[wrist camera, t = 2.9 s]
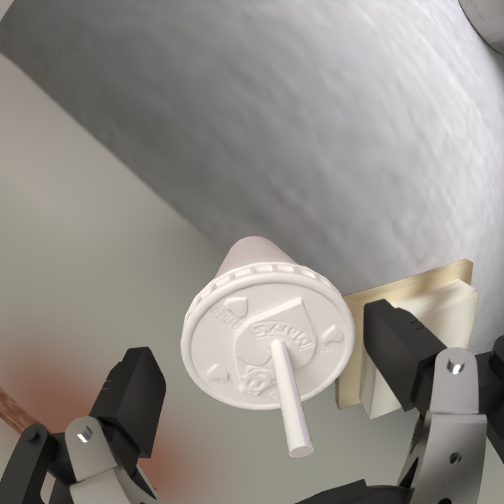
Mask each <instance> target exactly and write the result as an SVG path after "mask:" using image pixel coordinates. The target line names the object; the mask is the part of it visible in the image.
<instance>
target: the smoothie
mask: <svg viewBox="0 0 504 504" xmlns="http://www.w3.org/2000/svg"><path fill="white" fill-rule="evenodd" d="M354 343H355V325H354V320H353V317H352V314H351V312H350V310H349V308H348V306H347V305H346V303H345V302H344V300H343V298H342V296H341V294H340V292H339V291H338V290H337V289H336V288H335V287H334V286H333V285H332V284H331V283H330V282H329V281H328V279H327V278H326V277H324V276H322V275H320V274H318V273H316V272H315V271H313V270H311V269H309V268H307V267H305V266H300V265H298V264H297V263H296V262H294V261H293V260H292V259H291V258H290V257H289V256H288V255H286V254H285V253H284V252H283V251H282V250H281V249H279V248H278V247H277V246H276V245H275V244H274V243H273V242H271V241H270V240H268V239H266V238H263V237H259V236H250V237H246V238H243V239H241V240H239V241H238V242H236V243H235V244H234V245H233V246H232V248H231V249H230V251H229V252H228V254H227V256H226V258H225V260H224V262H223V263H222V265H221V267H220V269H219V271H218V273H217V275H216V277H215V278H214V280H212V281H211V282H210V283H209V284H208V285H207V286H206V287H205V288H204V289H203V290H202V291H201V292H200V293H199V294H198V295H197V296H196V297H195V298H194V300H193V302H192V304H191V306H190V308H189V310H188V312H187V314H186V315H185V321H184V327H183V333H182V339H181V353H182V359H183V363H184V365H185V368H186V370H187V372H188V374H189V375H190V377H191V378H192V379H193V381H194V382H195V383H196V384H197V385H198V386H199V387H200V388H201V389H202V390H203V391H204V392H206V393H207V394H208V395H210V396H211V397H213V398H215V399H217V400H219V401H221V402H223V403H225V404H228V405H231V406H235V407H238V408H243V409H251V410H272V409H279V408H281V411H282V417H283V422H284V428H285V433H286V438H287V444H288V449H289V454H290V456H292V457H303V456H306V455H309V454H310V453H312V452H313V450H314V448H313V444H312V440H311V436H310V432H309V429H308V425H307V421H306V417H305V413H304V410H303V406H302V402H303V401H305V400H308V399H310V398H312V397H313V396H315V395H317V394H318V393H320V392H322V391H323V390H324V389H325V388H327V387H328V386H329V385H330V384H331V383H333V382H334V380H335V379H336V378H337V377H338V376H339V375H340V374H341V372H342V371H343V370H344V368H345V366H346V365H347V363H348V361H349V359H350V357H351V354H352V351H353V348H354Z"/></svg>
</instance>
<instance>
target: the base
mask: <svg viewBox="0 0 504 504" xmlns="http://www.w3.org/2000/svg"><path fill="white" fill-rule="evenodd" d="M472 269H473V262H471V261H469V260H467V259H462V260H459V261H457V262H454V263H451V264H448V265H445V266H442V267H439V268H436V269H433V270H430V271H427V272H424V273H421V274H418V275H415V276H412V277H409V278H405V279H402V280H399V281H396V282H392V283H389V284H385V285H382V286H379V287H375V288H372V289H368V290H364V291H361V292H357V293H353V294H350V295H346V296H342V298H343V300H344V302H345V303H346V305H347V306H348V308H349V310H350V312H351V314H352V317H353V320H354V325H355V343H354V348H353V351H352V354H351V357H350V359H349V361H348V363H347V365H346V366H345V368H344V370H343V371H342V372H341V374H340V375H339V376H338V377H337V378H336V403H337V406H338V409H339V410H340V409H343V408H347V407H349V406H353V405H356V404H359V403H362V405H363V407H364V409H365V411H366V413H367V416H368V418H369V420H371V419H373V418H376V417H379V416H381V415H384V414H386V413H389V412H391V411H394V410H396V409H399V408H401V407H402V406H401V405H400V403H399V401H398V400H397V398H396V397H395V395H394V393H393V392H392V390H391V389H390V387H389V386H388V384H387V382H386V381H385V379H384V378H383V376H382V375H381V373H380V372H379V370H378V369H377V367H376V366H375V364H374V363H373V361H372V360H371V358H370V357H369V355H368V353H367V352H366V349H365V346H364V342H363V321H364V305H365V304H366V303H370V302H373V301H376V300H380V299H386V300H387V301H388V302H389V303H390V304H391V305H392V306H393V307H394V308H398V307H400V308H402V309H404V310H407V311H409V312H411V313H412V314H413V315H414V316H415V317H416V318H417V319H418V321H420V322H422V323H423V324H424V325H425V327H427V328H428V329H429V330H430V331H431V332H432V333H433V334H434V335H435V336H436V337H437V338H438V339H439V340H440V341H441V342H442V343H443V344H445V345H446V346H447V347H448V348H452V347H459V348H463V349H467V346H468V342H469V339H470V335H471V331H472V327H473V323H474V319H475V315H476V310H477V305H478V300H479V295H480V292H479V291H477V290H476V289H474V288H473V287H471V286H470V285H471V277H472Z"/></svg>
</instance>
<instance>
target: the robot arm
mask: <svg viewBox="0 0 504 504" xmlns="http://www.w3.org/2000/svg"><path fill="white" fill-rule="evenodd" d="M459 2H460V4H461V6H462V8H463V10H464V12H465V14H466V15H467V17H468V18H469V20H470V22H471V23H472V25H473V26H474V27H475V29H476V30H477V31H478V33H479V34H480V35H481V36H482V38H483V39H484V40H485V41H486V42H487V43H488V44H489V45H490V46H491V47H492V48H493V49H494V50H496V51H497V52H499V53H501V54H504V0H459ZM363 342H364V346H365V349H366V352H367V353H368V355H369V357H370V358H371V360H372V361H373V363H374V364H375V366H376V367H377V369H378V370H379V372H380V373H381V375H382V376H383V378H384V379H385V381H386V382H387V384H388V386H389V387H390V389H391V390H392V392H393V393H394V395H395V397H396V398H397V400H398V401H399V403H400V405H401V406H402V408H403V409H404V411H405V412H406V411H409V410H411V409H413V408H415V407H416V408H417V409H418V411H419V414H418V417H417V421H416V426H415V430H414V434H413V438H412V442H411V445H410V449H409V452H408V456H407V459H406V462H405V465H404V467H403V469H402V471H401V474H400V476H399V479H398V481H397V484H396V486H392V485H376V486H367V485H366V483H365V480H364V479H362V480H359V481H356V482H353V483H350V484H347V485H343V486H340V487H337V488H333V489H330V490H326V491H322V492H320V493H318V494H316V495H314V496H312V497H310V498H307V499H305V500H303V501H300V502H298V503H295V504H477V501H478V496H479V491H480V486H481V480H482V474H483V467H484V459H485V449H486V436H487V437H488V439H489V440H490V442H491V444H492V445H493V447H494V448H495V450H496V452H497V453H498V455H499V457H500V458H501V460H502V462H503V464H504V335H503V336H500V337H499V338H497V340H496V341H495V343H494V346H493V349H492V351H490V352H486V353H483V354H479V355H473V354H472V353H471V352H470V351H468V350H466V349H463V348H459V347H452V348H448V347H447V346H446V345H445V344H443V343H442V342H441V341H440V340H439V339H438V338H437V337H436V336H435V335H434V334H433V333H432V332H431V331H430V330H429V329H428V328H427V327H425V325H424V324H423V323H422V322H420V321H418V319H417V318H416V317H415V316H414V315H413V314H412V313H411V312H409V311H407V310H404V309H402V308H400V307H398V308H394V307H393V306H392V305H391V304H390V303H389V302H388V301H387V300H386V299H380V300H376V301H373V302H370V303H366V304H365V305H364V321H363ZM165 393H166V383H165V379H164V376H163V374H162V372H161V370H160V368H159V366H158V364H157V362H156V360H155V358H154V356H153V354H152V352H151V350H150V349H149V348H148V347H138V348H129V349H128V350H127V352H126V354H125V356H124V358H123V360H122V362H119V363H118V364H117V365H116V366H115V367H114V368H113V369H112V370H111V371H110V373H109V375H108V377H107V379H106V382H105V383H104V385H103V387H102V390H101V391H100V393H99V395H98V397H97V399H96V401H95V403H94V405H93V407H92V409H91V412H90V414H89V416H85V417H80V418H78V419H76V420H74V421H73V422H72V423H71V424H70V425H69V426H68V428H67V430H66V432H62V433H55V434H51V433H50V432H49V431H48V430H47V428H46V427H45V426H44V425H42V424H33V425H30V426H29V427H27V428H26V429H25V430H24V431H23V433H22V435H21V437H20V439H19V441H18V443H17V445H16V447H15V449H14V451H13V453H12V456H11V458H10V460H9V462H8V464H7V467H6V469H5V471H4V474H3V477H2V479H1V481H0V504H45V503H44V502H43V501H42V499H41V496H40V492H41V488H42V485H43V482H44V479H45V476H46V473H47V472H48V473H50V474H51V475H52V476H53V477H54V478H56V480H55V483H54V487H53V490H52V493H51V497H50V500H49V504H164V503H163V502H162V501H161V499H160V498H159V496H158V495H157V493H156V492H155V490H154V489H153V487H152V486H151V484H150V483H149V481H148V480H147V478H146V477H145V475H144V473H143V472H142V470H141V469H140V467H139V466H138V465H137V460H138V458H151V453H152V448H153V444H154V439H155V434H156V430H157V426H158V422H159V417H160V413H161V409H162V405H163V401H164V397H165Z"/></svg>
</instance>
